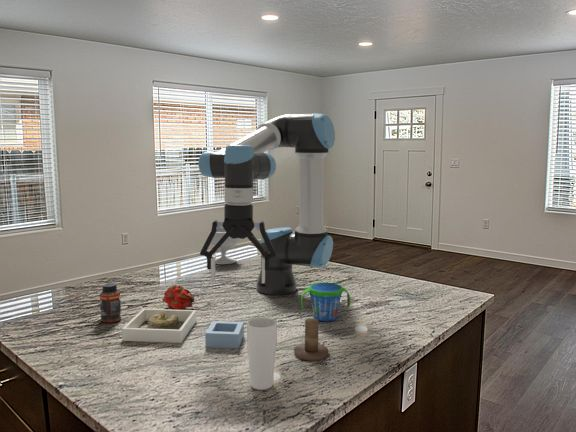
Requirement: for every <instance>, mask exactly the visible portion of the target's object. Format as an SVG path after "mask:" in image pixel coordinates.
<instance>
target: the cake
mask: <svg viewBox="0 0 576 432" xmlns="http://www.w3.org/2000/svg"><path fill="white" fill-rule="evenodd" d="M161 313H162V314H161V315H160V314H155V315H153V316H152V317H151V316H150V317H149V319H148V321H147V329H176V330H179V329H180V328H181V326H182V324H181V323H180V322H179V318H178V317H177V315H172V316H170V317H168V316H165V314H164V312H161Z"/></svg>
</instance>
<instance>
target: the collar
mask: <svg viewBox="0 0 576 432" xmlns="http://www.w3.org/2000/svg"><path fill="white" fill-rule="evenodd" d="M244 322H245V321H223V320H221V321H219V320H218V321H217V320H212V321H211V322H210V325H209V327H207V329H206V331H205V333H204V335H205V336H204V337H205V339H204V340H205V348H216V349H217V348H218V349H219V348H220V349H240V346H241V345H242V341H243V338H244V336H245V333H244V332H245V330H244V328H245V327H244V325H245V323H244Z"/></svg>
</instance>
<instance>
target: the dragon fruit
mask: <svg viewBox="0 0 576 432" xmlns="http://www.w3.org/2000/svg"><path fill="white" fill-rule="evenodd" d="M163 295H164V296H163V298H162V300H161V301H162V302H163V303H166V304H167V305H166V306H167V307H168V309H170V310H184V309H185V308H192V307H193V305H194V304H195V303H196V302H195V296H194V295H193V294H192V292H191V291H190V290H189V289H186V288H184V287H183V286H181V285H176V284H175V285H173V286H169V287H168V288H167V290H165V292H164V294H163Z"/></svg>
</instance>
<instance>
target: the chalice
mask: <svg viewBox="0 0 576 432" xmlns="http://www.w3.org/2000/svg"><path fill="white" fill-rule="evenodd" d="M211 230H212V228H211V229H210V230H209V233H208V235H207V237H208V236H209V234H210V232H211ZM225 233H226V231H225V229H224V228H223V227H220V229H219V230H217V231H216V234H215V235H214V237H213V239H212V241H211V243H210V245H209V246H211V247H212V248H213V247H214V246H215V245H216V244H217V243H218V241H219V240H220V239H221V238H222V237H223V236H224V235H225ZM239 239H240V238H236V239H232V238H231V237H230V236H229V237H228V238H227V239H226V240H225V242H224V243H223V244H222V245H221V246H220V247H219V248H218V250H217V251H219V252H220V254H221V255H220V257H217V258H216V257H215V265H231V264H235V263H237V262H238V261H237V259H235V258H232V257H227V256H226V253H227V252H228V251H229V250H230V249H232V248H233V247H235V246H237V244H238V243H239Z"/></svg>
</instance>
